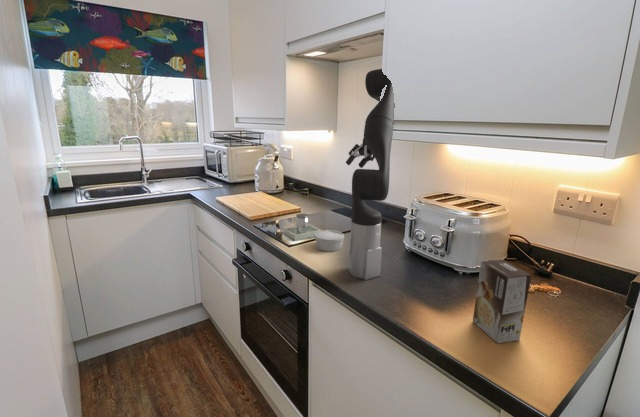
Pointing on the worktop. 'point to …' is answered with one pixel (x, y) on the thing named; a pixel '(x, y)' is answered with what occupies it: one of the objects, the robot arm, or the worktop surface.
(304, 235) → the tray
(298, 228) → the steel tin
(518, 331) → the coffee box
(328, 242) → the ramekin
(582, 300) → the worktop surface
